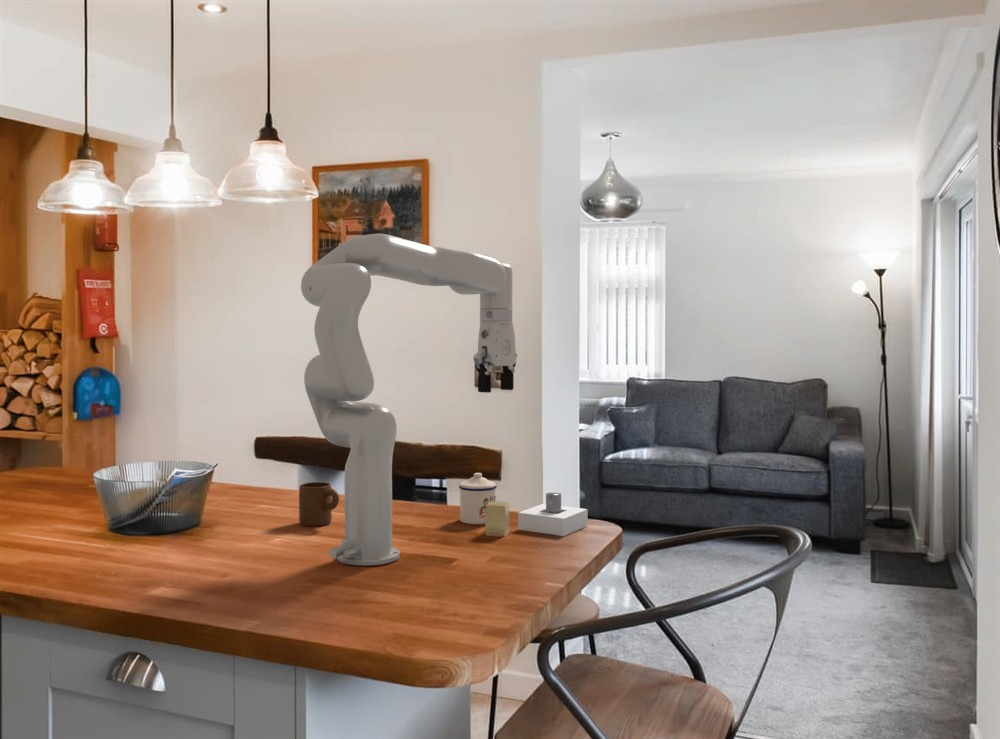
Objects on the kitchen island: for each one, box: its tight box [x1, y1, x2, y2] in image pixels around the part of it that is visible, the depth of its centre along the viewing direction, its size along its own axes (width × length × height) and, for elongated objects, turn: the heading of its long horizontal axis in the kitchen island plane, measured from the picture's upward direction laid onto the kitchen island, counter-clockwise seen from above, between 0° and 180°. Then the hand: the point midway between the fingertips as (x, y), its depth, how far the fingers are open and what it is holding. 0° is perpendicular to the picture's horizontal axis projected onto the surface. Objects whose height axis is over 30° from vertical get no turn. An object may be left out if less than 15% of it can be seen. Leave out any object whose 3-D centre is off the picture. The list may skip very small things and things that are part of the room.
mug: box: [298, 481, 340, 528], centre depth 206 cm, size 12×8×9 cm, turn 51°
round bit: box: [545, 492, 562, 514], centre depth 204 cm, size 4×4×8 cm
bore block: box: [517, 503, 589, 537], centre depth 204 cm, size 12×12×4 cm
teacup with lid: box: [458, 472, 497, 526], centre depth 212 cm, size 12×9×12 cm
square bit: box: [485, 501, 510, 538], centre depth 198 cm, size 4×4×7 cm
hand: (495, 390), depth 201 cm, fingers open, 9 cm apart
